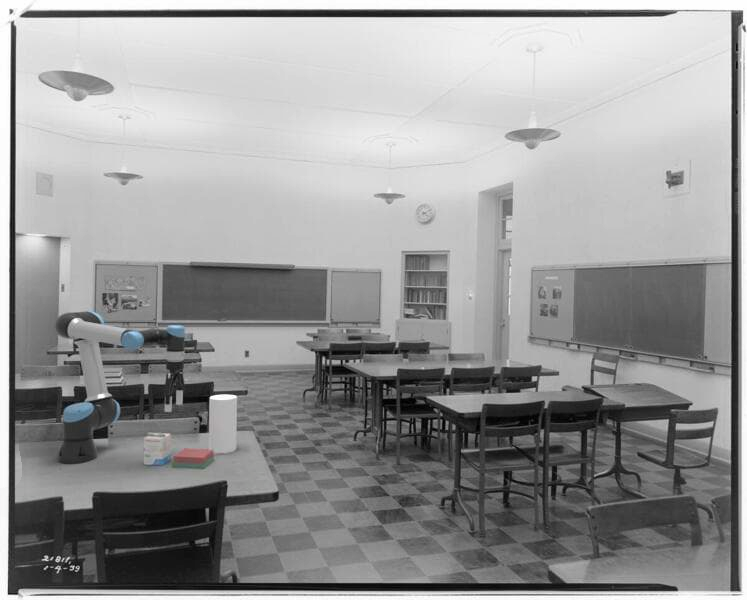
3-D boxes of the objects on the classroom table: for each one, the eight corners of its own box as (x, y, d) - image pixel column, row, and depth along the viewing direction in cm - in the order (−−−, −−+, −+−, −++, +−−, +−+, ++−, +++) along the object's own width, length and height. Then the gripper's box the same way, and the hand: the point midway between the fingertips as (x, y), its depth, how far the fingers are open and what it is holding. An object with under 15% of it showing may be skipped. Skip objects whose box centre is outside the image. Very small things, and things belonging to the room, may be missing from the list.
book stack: (171, 468, 234) (171, 456, 234) (183, 459, 246) (183, 448, 246) (203, 469, 233) (204, 457, 233) (214, 460, 245) (214, 449, 245)
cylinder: (231, 444, 269) (232, 393, 269) (239, 451, 259) (240, 398, 258) (205, 448, 262) (206, 395, 262) (213, 455, 252) (214, 400, 251)
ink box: (171, 459, 244) (171, 429, 244) (162, 465, 236) (162, 434, 236) (152, 458, 245) (153, 428, 245) (142, 464, 237) (143, 433, 236)
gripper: (173, 364, 232) (171, 415, 233) (192, 357, 257) (191, 402, 258) (155, 364, 232) (154, 414, 233) (176, 356, 257) (175, 401, 258)
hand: (173, 408), depth 245 cm, fingers open, 13 cm apart
